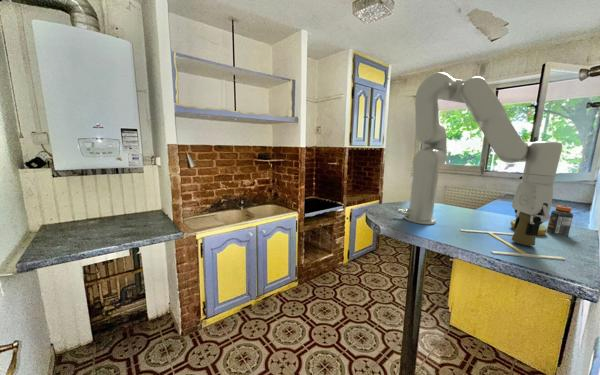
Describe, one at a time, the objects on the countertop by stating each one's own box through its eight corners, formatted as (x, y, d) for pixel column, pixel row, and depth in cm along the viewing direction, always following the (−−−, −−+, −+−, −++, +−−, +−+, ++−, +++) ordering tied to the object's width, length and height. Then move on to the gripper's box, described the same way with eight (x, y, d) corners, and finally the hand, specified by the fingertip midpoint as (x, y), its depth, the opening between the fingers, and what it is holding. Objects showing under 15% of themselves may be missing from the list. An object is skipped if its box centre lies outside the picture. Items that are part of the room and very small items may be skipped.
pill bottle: (544, 229, 99) (551, 203, 97) (565, 233, 96) (572, 206, 94) (548, 234, 94) (555, 206, 92) (570, 238, 91) (578, 209, 89)
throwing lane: (493, 253, 76) (493, 252, 75) (459, 230, 95) (460, 229, 95) (565, 260, 73) (565, 258, 73) (515, 234, 93) (515, 233, 93)
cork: (525, 239, 86) (532, 209, 84) (540, 246, 80) (547, 214, 78) (507, 237, 87) (513, 208, 84) (520, 244, 81) (527, 213, 79)
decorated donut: (526, 236, 92) (528, 226, 91) (502, 226, 103) (504, 217, 102) (553, 237, 92) (555, 227, 92) (527, 227, 103) (529, 218, 102)
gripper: (506, 175, 88) (496, 223, 91) (546, 183, 71) (532, 241, 75) (529, 176, 87) (518, 224, 90) (575, 185, 70) (559, 243, 74)
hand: (525, 231), depth 83 cm, fingers open, 4 cm apart
